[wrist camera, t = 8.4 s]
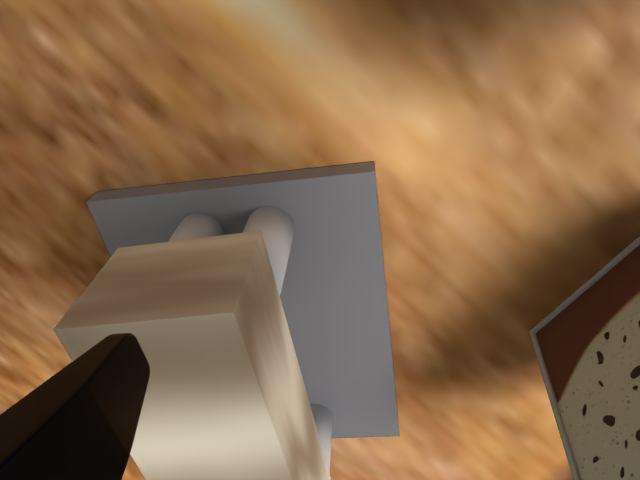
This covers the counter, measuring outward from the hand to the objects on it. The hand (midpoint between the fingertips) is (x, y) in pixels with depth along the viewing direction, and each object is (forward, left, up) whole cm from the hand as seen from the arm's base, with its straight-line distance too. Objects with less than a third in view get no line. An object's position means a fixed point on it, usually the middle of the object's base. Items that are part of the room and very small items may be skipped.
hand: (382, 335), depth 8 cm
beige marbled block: (+6, +10, -7) cm, 13 cm away
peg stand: (+6, +10, -12) cm, 16 cm away
